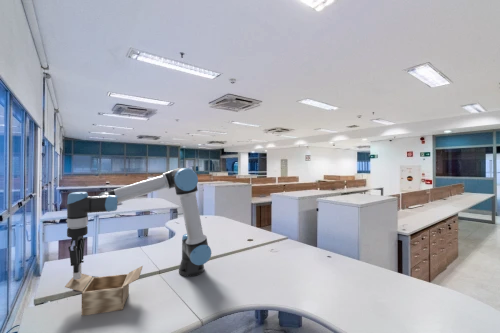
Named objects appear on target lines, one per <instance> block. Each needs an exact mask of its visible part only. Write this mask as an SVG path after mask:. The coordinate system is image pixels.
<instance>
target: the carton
mask: <svg viewBox="0 0 500 333" xmlns="http://www.w3.org/2000/svg"><path fill="white" fill-rule="evenodd" d="M128 274H129V273H127V274H126V273H125V274H123V273H121V274H115V275H114V274H113V275H105V276H95V277H94V278H92V279H91V281H90V282H89V283H88V285H87V286H86V288H85V289H84V290H83V291H82V292H81V317H83V316H91V315H96V314H97V315H99V314H104V313H110V312H117V311H122V310H124V307H125V305H126V302H127V299H128V297H129V295H130V292H129V291H130V290H129V289H130V284H128V285H126V286H124V287H123V285H124V283H125V281H126V278H127V276H128Z"/></svg>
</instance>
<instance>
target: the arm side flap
mask: <svg viewBox="0 0 500 333" xmlns="http://www.w3.org/2000/svg"><path fill="white" fill-rule="evenodd" d="M143 266H144V265H141V266H139V267H137V268H136V269H133V270H131V271H130V272H128V273H127V274H128V276H127V278H126V281H125V283H124V285H123V287H124V286H126V285H128V284H129V285H130V284H132V283H133V282H136V281H137V280H139V279H140V277H141V276H140V275H141V274H142V270H143Z"/></svg>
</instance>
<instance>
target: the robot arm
mask: <svg viewBox="0 0 500 333" xmlns="http://www.w3.org/2000/svg"><path fill="white" fill-rule="evenodd" d="M198 182H199V177H198V173H196V172H195V171H194V170H193V169H192V168H189V167H176V168H175V169H171V170H169V171H166V172H163V173H162V175H159V176H156V177H152V178H149V179H144V180H141V181H138V182H135V183H132V184H128V185H124V186H122V187H118V188H115V189H112V190H107V191H102V192H100V193H99V194H97V195H93V196H92V195H91V196H89V194H88V192H87V191H76V192H69V194H68V195H67V203H66V211H67V212H66V220H65V222H66V224H67V229H66V236H67V237H68V238H71V241H70V246H68V247H67V248H68V252H69V260H70V267H72V270H73V271H72V278H73V280H75V279H80V278H81V273H82V263H85V260H84V257H85V256H84V255H85V244H86V237H84V236H86V235H88V233H89V232H88V224H89V223H88V222H89V221H88V220H89V219H88V218H89V216H88V213H89V214H90V213H91V214H92V213H104V212H106V213H107V212H108V213H110V212H114V211H117V210H118V204H119V203H122V202H125V201H128V200H132V199H135V198H139V197H142V196H145V195H149V194H151V193H154V192H157V191H161V190H164V189H168V190H170V189H174V190H175V194H176V196H177V197H179V200H180V205H181V210H182V215H183V221H184V225H185V231H186V233H185V234H183V235H182V239H181V261H180V263H179V267H178V274H179V275H180V276H183V277H197V276H199V275H201V274H202V273H203V272H204V270H205V265H204V264H207V263H208V262H209V260H210V259H211V257H212V249H211V247H210V245H209V244H208V243H209V242H208V237H207V235H205V234H204V232H203V227H202V225H203V224H202V221H201V214H200V210H199V205H198V200H197V193H198V191H199V189H198Z"/></svg>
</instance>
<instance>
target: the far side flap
mask: <svg viewBox="0 0 500 333" xmlns="http://www.w3.org/2000/svg"><path fill="white" fill-rule="evenodd" d="M92 276H93V275H88V274H86V273H83V272H81V278H80V279H75V280H73V277H71V279H70V280H69V281H68V282H67V283H66V285H65V286H64V288H67V289H70V290H74V291H77V292H80V293H82V292H83V290H84V288H85V287H86V285H87V284H88V283H89V281H90V280H91V278H92Z"/></svg>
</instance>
